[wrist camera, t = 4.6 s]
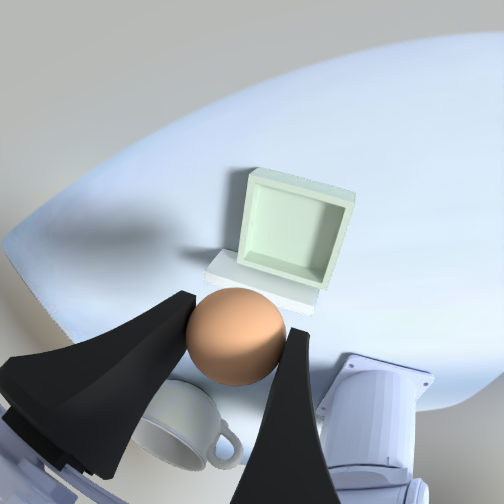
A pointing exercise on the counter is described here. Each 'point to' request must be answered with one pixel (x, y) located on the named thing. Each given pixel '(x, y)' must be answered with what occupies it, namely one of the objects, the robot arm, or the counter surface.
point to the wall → (261, 283)
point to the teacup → (185, 428)
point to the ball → (235, 336)
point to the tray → (293, 226)
